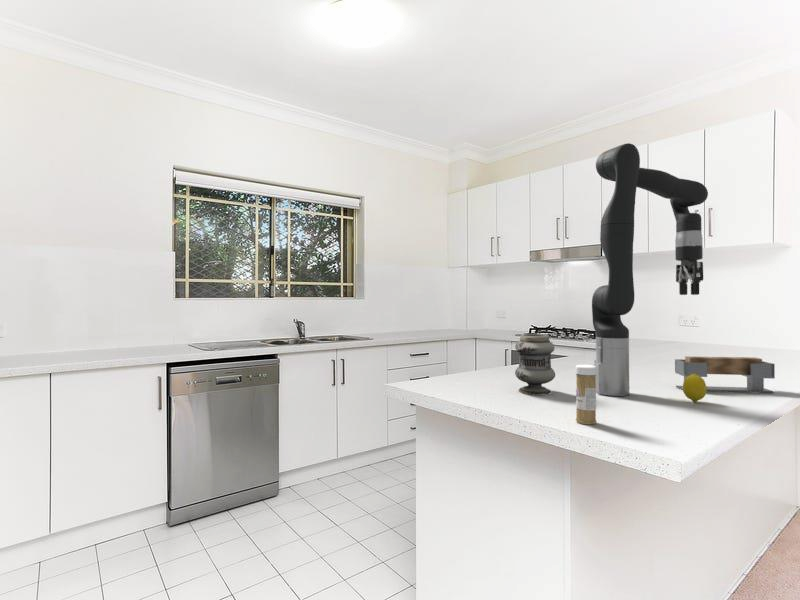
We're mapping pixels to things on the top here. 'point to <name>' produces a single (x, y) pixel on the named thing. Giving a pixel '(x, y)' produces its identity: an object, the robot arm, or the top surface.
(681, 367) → the bracket stand
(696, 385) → the lemon
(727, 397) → the top surface
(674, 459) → the top surface
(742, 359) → the rail
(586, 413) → the sprinkles bottle
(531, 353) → the apothecary jar
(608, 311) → the robot arm
